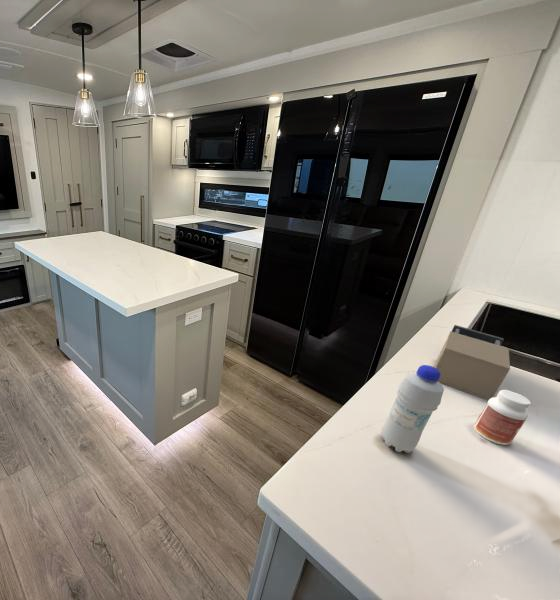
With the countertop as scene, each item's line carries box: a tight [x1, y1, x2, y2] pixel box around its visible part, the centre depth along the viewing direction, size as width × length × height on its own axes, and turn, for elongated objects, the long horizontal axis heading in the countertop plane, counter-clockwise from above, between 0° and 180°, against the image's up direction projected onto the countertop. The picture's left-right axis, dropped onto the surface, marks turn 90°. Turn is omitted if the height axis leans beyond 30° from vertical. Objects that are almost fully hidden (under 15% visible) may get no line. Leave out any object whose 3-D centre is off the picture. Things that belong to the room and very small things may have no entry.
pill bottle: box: [473, 389, 532, 446], centre depth 69 cm, size 6×6×11 cm
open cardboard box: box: [433, 330, 511, 402], centre depth 88 cm, size 15×13×11 cm
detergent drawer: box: [451, 324, 505, 346], centre depth 96 cm, size 18×11×9 cm, turn 134°
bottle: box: [380, 364, 445, 454], centre depth 63 cm, size 7×7×20 cm
